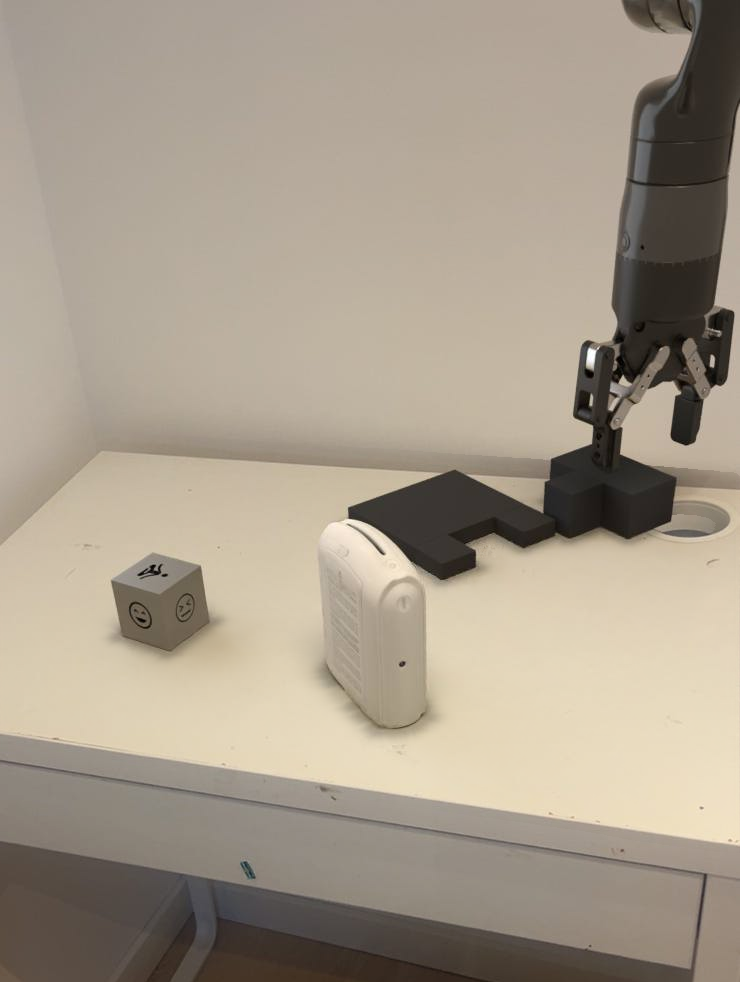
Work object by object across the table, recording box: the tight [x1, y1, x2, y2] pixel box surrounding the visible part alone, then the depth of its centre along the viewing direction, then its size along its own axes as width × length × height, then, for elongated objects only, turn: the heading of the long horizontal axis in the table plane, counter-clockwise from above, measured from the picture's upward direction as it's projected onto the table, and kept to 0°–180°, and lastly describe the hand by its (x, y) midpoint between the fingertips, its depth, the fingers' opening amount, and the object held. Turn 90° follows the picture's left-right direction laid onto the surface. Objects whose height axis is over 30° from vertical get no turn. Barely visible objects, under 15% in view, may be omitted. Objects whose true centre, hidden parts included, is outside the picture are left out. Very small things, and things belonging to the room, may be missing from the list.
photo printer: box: [317, 518, 428, 729], centre depth 80 cm, size 10×4×12 cm, turn 23°
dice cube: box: [110, 552, 210, 652], centre depth 92 cm, size 5×5×5 cm
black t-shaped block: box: [542, 443, 677, 540], centre depth 100 cm, size 10×8×4 cm
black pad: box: [347, 469, 556, 581], centre depth 102 cm, size 12×14×2 cm
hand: (644, 455), depth 95 cm, fingers open, 8 cm apart
